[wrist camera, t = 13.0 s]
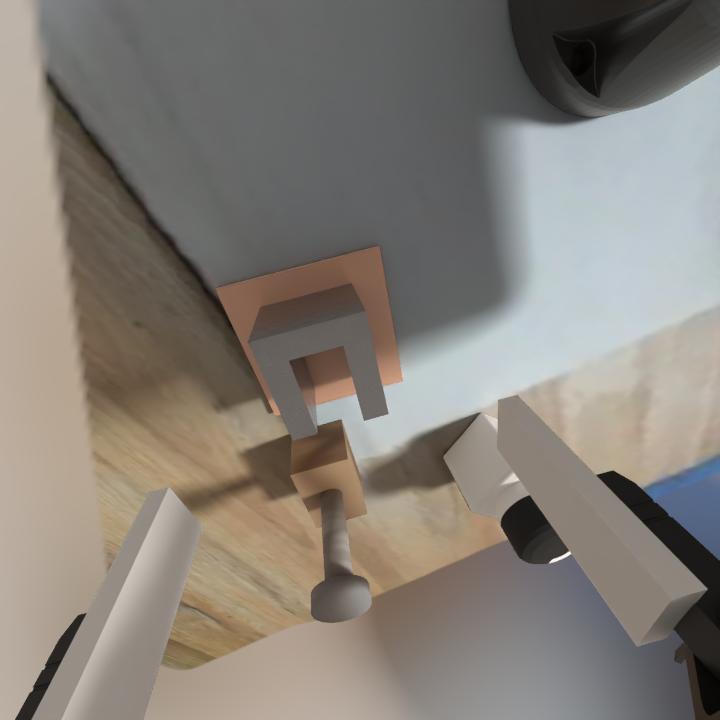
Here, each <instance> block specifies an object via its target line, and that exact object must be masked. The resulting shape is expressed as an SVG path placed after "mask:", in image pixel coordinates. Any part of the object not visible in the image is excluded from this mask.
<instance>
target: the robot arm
mask: <svg viewBox="0 0 720 720" xmlns="http://www.w3.org/2000/svg"><path fill="white" fill-rule="evenodd" d="M509 5H510V15H511V22H512V28H513V33H514V37H515V41H516V45H517V48H518V52H519V55H520V57H521V60H522V63H523V65H524V67H525V69H526V72H527V73H528V75H529V77H530V79H531V80H532V82H533V83H534V85H535V86H536V88H537V89H538V90H539V91H540V93H541V94H542V95H543V96H544V97H545V98H546V99H547V100H548V101H549V102H551V103H552V104H553V105H555V106H556V107H558V108H559V109H561V110H563V111H565V112H568V113H571V114H574V115H578V116H585V117H598V116H606V115H610V114H615V113H619V112H623V111H627V110H631V109H636V108H639V107H642V106H646V105H648V104H651V103H653V102H656V101H658V100H660V99H662V98H665V97H667V96H669V95H671V94H672V93H674V92H676V91H678V90H679V89H681V88H683V87H684V86H686V85H688V84H689V83H691V82H693V81H694V80H696V79H698V78H699V77H701V76H703V75H704V74H706V73H708V72H709V71H711V70H713V69H714V68H716V67H718V66H719V65H720V0H509ZM497 449H498V451H499V452H500V454H501V455H502V456H503V458H504V459H505V461H506V462H507V463H508V465H509V466H510V468H511V469H512V470H513V472H514V473H515V475H516V476H517V478H518V479H519V480H520V482H521V483H522V485H523V486H524V487H525V489H526V490H527V492H528V493H529V495H530V496H531V497H532V499H533V500H534V502H535V503H536V504H537V506H538V507H539V509H540V510H541V511H542V513H543V514H544V516H545V517H546V519H547V520H548V521H549V523H550V524H551V526H552V527H553V528H554V530H555V531H556V533H557V534H558V536H559V537H560V538H561V540H562V541H563V543H564V544H565V545H566V547H567V548H568V550H569V551H570V553H571V554H572V555H573V557H574V558H575V560H576V561H577V562H578V564H579V565H580V567H581V568H582V569H583V571H584V572H585V573H586V575H587V576H588V578H589V579H590V581H591V582H592V584H593V585H594V586H595V588H596V589H597V591H598V592H599V594H600V595H601V596H602V597H603V599H604V601H605V602H606V603H607V605H608V606H609V608H610V609H611V610H612V612H613V613H614V615H615V616H616V618H617V619H618V620H619V622H620V623H621V625H622V626H623V627H624V629H625V630H626V632H627V633H628V635H629V636H630V637H631V639H632V640H633V642H634V643H635V644H636V646H640V645H644V644H647V643H651V642H655V641H658V640H662V639H665V638H667V637H668V636H669V634H670V633H671V632H672V631H673V630H675V631H676V632H677V634H678V635H679V636H680V637H681V638H682V640H683V641H684V642H683V643H682V644H681V646H680V647H679V648H678V649H677V650H676V651H675V658H674V660H675V661H676V662H678V663H682V662H683V661H684V660H685V659H686V663H687V668H688V675H689V680H690V688H691V693H692V700H693V706H694V713H695V718H696V720H720V561H719V560H718V559H717V558H716V557H715V556H713V554H711V553H710V552H709V551H708V550H707V549H706V548H705V547H704V546H703V545H702V544H700V543H699V541H697V540H696V539H695V538H694V537H693V536H692V535H691V534H690V533H689V532H688V531H687V530H685V529H684V528H683V527H682V526H681V525H680V524H679V523H678V522H677V521H676V520H674V519H673V518H672V517H670V516H669V515H668V513H667V512H666V511H665V510H664V509H663V508H662V507H660V506H659V505H658V504H657V503H654V501H653V499H652V498H651V497H650V496H649V495H647V494H646V493H645V492H644V491H643V490H642V489H641V488H640V487H639V486H638V485H637V484H636V483H634V482H632V481H631V480H629V479H627V478H625V477H624V476H622V475H620V474H618V473H617V472H615V471H609V472H606V473H602V474H598V475H595V474H594V473H593V472H592V471H591V470H590V469H589V468H588V467H587V465H586V464H585V463H584V462H583V461H582V460H581V459H580V458H579V457H578V456H577V455H576V454H575V453H574V452H573V451H572V450H571V449H570V448H569V447H568V446H567V445H566V444H565V443H564V442H563V441H562V440H561V439H560V438H559V437H558V436H557V435H556V434H555V433H554V432H553V431H552V430H551V429H550V428H549V427H548V426H547V425H546V424H545V423H544V422H543V421H542V420H541V419H540V418H539V417H538V416H537V415H536V414H535V413H534V412H533V411H532V409H531V408H530V407H529V406H528V405H527V404H526V403H525V402H524V401H523V400H522V399H521V398H520V397H519V396H518V395H515V396H512V397H508V398H504V399H500V400H498V428H497ZM202 529H203V526H202V525H201V524H200V522H199V521H198V520H197V519H196V518H195V517H194V515H193V514H192V513H191V512H190V511H189V510H188V509H187V507H186V506H185V505H184V504H183V503H182V502H181V500H180V499H179V498H178V497H177V496H176V495H175V493H174V492H173V491H172V490H171V489H170V488H169V487H167V488H164V489H160V490H156V491H152V492H149V494H148V496H147V498H146V500H145V502H144V504H143V506H142V508H141V510H140V512H139V513H138V515H137V517H136V519H135V521H134V523H133V525H132V527H131V529H130V531H129V533H128V535H127V537H126V538H125V540H124V542H123V544H122V546H121V548H120V550H119V552H118V554H117V556H116V558H115V560H114V562H113V564H112V565H111V567H110V569H109V571H108V573H107V575H106V577H105V579H104V581H103V583H102V585H101V587H100V589H99V591H98V593H97V595H96V596H95V598H94V600H93V602H92V604H91V606H90V608H89V610H88V612H87V613H85V614H81V615H78V616H77V618H76V619H75V620H74V621H73V623H72V624H71V625H70V626H69V628H68V629H67V630H66V631H65V633H64V634H63V635H62V636H61V638H60V639H59V641H58V643H57V644H56V646H55V648H54V650H53V652H52V653H51V655H50V657H49V659H48V661H47V663H46V664H45V666H46V667H45V669H44V670H42V672H41V673H40V675H39V677H38V679H37V681H36V683H35V685H34V686H33V687H34V689H33V691H32V692H31V693H29V695H28V697H27V699H26V701H25V703H24V705H23V706H22V708H21V710H20V712H19V714H18V716H17V717H16V719H15V720H143V719H144V716H145V712H146V709H147V706H148V702H149V699H150V696H151V693H152V690H153V687H154V683H155V680H156V677H157V674H158V670H159V667H160V664H161V661H162V658H163V654H164V651H165V648H166V645H167V642H168V638H169V635H170V632H171V629H172V625H173V622H174V619H175V616H176V613H177V609H178V606H179V603H180V600H181V596H182V593H183V590H184V587H185V584H186V580H187V577H188V574H189V571H190V567H191V564H192V561H193V558H194V555H195V551H196V548H197V545H198V542H199V538H200V535H201V532H202Z"/></svg>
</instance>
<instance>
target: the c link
mask: <svg viewBox="0 0 720 720" xmlns="http://www.w3.org/2000/svg"><path fill="white" fill-rule="evenodd" d="M248 345H249V347H250V349H251V351H252V353H253V356H254V358H255V360H256V362H257V364H258V366H259V369H260V371H261V373H262V375H263V377H264V379H265V382H266V384H267V386H268V388H269V390H270V392H271V394H272V397H273V399H274V401H275V403H276V405H277V407H278V410H279V412H280V414H281V416H282V418H283V420H284V423H285V425H286V427H287V429H288V431H289V433H290V436H291V438H292V440H297V439H300V438H304V437H308V436H311V435H315V434H318V432H317V415H316V399H315V385H314V383H313V380H312V377H311V374H310V372H309V369H308V366H307V363H306V361H305V358H304V356H308V355H311V354H315V353H319V352H322V351H326V350H330V349H333V348H337V347H341V346H343V347H344V350H345V354H346V358H347V361H348V365H349V368H350V372H351V376H352V379H353V383H354V386H355V390H356V394H357V397H358V401H359V404H360V408H361V411H362V415H363V419H364V421H365V420H368V419H372V418H376V417H379V416H383V415H386V414H388V409H387V405H386V400H385V396H384V391H383V387H382V382H381V377H380V373H379V368H378V364H377V359H376V355H375V350H374V345H373V341H372V336H371V332H370V327H369V323H368V318H367V313H366V310H365V308H364V306H363V304H362V302H361V300H360V298H359V296H358V294H357V292H356V290H355V288H354V287H353V285H352V283H349V284H345V285H342V286H338V287H334V288H330V289H326V290H323V291H319V292H315V293H311V294H308V295H304V296H300V297H296V298H292V299H289V300H285V301H281V302H277V303H273V304H270V305H266V306H262V307H260V309H259V312H258V314H257V317H256V320H255V323H254V326H253V329H252V331H251V334H250V337H249V340H248Z"/></svg>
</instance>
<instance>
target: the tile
mask: <svg viewBox="0 0 720 720" xmlns="http://www.w3.org/2000/svg"><path fill="white" fill-rule="evenodd" d="M349 283H352V285H353V287H354V288H355V290H356V292H357V294H358V296H359V298H360V300H361V302H362V304H363V306H364V308H365V310H366V313H367V318H368V323H369V327H370V332H371V336H372V341H373V345H374V350H375V355H376V359H377V364H378V368H379V373H380V377H381V382H382V387H383V386H386V385H390V384H394V383H397V382H401V381H403V379H402V373H401V367H400V361H399V355H398V350H397V344H396V338H395V332H394V326H393V321H392V315H391V309H390V303H389V298H388V292H387V286H386V280H385V274H384V269H383V263H382V257H381V251H380V247H379V246H375V247H371V248H367V249H363V250H359V251H356V252H352V253H348V254H344V255H340V256H336V257H333V258H329V259H325V260H321V261H317V262H313V263H310V264H306V265H302V266H298V267H294V268H290V269H287V270H283V271H279V272H275V273H271V274H267V275H263V276H260V277H256V278H252V279H248V280H244V281H240V282H237V283H233V284H229V285H225V286H221V287H217V289H216V292H217V294H218V297H219V299H220V301H221V303H222V305H223V307H224V309H225V311H226V313H227V315H228V318H229V320H230V322H231V324H232V326H233V328H234V330H235V332H236V334H237V336H238V339H239V341H240V343H241V345H242V347H243V349H244V351H245V353H246V355H247V357H248V360H249V362H250V364H251V366H252V368H253V370H254V372H255V374H256V376H257V378H258V381H259V383H260V385H261V387H262V389H263V391H264V393H265V395H266V397H267V399H268V402H269V404H270V406H271V408H272V410H273V412H274V414H275V416H278V415H281V414H280V412H279V410H278V407H277V405H276V403H275V401H274V399H273V397H272V394H271V392H270V390H269V388H268V386H267V384H266V382H265V379H264V377H263V375H262V373H261V371H260V369H259V366H258V364H257V362H256V360H255V358H254V356H253V353H252V351H251V349H250V347H249V345H248V340H249V337H250V334H251V331H252V329H253V326H254V323H255V320H256V317H257V314H258V312H259V309H260V307H262V306H266V305H270V304H273V303H277V302H281V301H285V300H289V299H292V298H296V297H300V296H304V295H308V294H311V293H315V292H319V291H323V290H326V289H330V288H334V287H338V286H342V285H345V284H349ZM304 358H305V361H306V363H307V366H308V369H309V372H310V374H311V377H312V380H313V383H314V385H315V399H316V405H318V404H321V403H325V402H328V401H332V400H336V399H339V398H343V397H347V396H350V395H354V394H356V390H355V386H354V383H353V379H352V376H351V372H350V368H349V365H348V361H347V358H346V354H345V350H344V347H343V346H341V347H337V348H333V349H330V350H326V351H322V352H319V353H315V354H311V355H308V356H304Z"/></svg>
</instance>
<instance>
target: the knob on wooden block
mask: <svg viewBox="0 0 720 720" xmlns="http://www.w3.org/2000/svg"><path fill="white" fill-rule="evenodd" d="M317 432H318V434H315V435H311V436H308V437H304V438H300V439H297V440H291V463H290V476H291V478H292V480H293V482H294V484H295V486H296V488H297V490H298V492H299V494H300V496H301V498H302V500H303V502H304V504H305V506H306V508H307V510H308V512H309V514H310V515H311V517H312V519H313V521H314V523H315V525H316V527H317V528H320V527H322V536H323V554H324V571H325V580H324V581H322V582H321V583H319V584H318V585H317V586H315V587H314V589H313V590H312V592H311V614H312V616H313V618H314V619H316V620H318V621H321V622H327V623H335V622H342V621H347V620H350V619H353V618H355V617H358V616H359V615H361V614H363V613H364V612H366V611H367V610H368V609H369V607H370V606H371V602H372V601H371V595H370V589H369V583H368V581H367V580H366V579H365V578H363V577H361V576H357V575H353V571H352V564H351V556H350V548H349V540H348V533H347V525H346V520H348V519H351V518H355V517H358V516H361V515H365V514H367V511H366V506H365V501H364V496H363V491H362V486H361V481H360V476H359V471H358V468H357V465H356V462H355V459H354V456H353V453H352V450H351V447H350V444H349V441H348V438H347V435H346V432H345V429H344V426H343V423H342V420H339V421H335V422H332V423H328V424H324V425H321V426H317Z"/></svg>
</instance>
